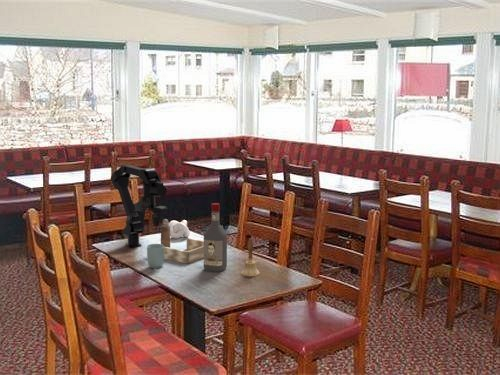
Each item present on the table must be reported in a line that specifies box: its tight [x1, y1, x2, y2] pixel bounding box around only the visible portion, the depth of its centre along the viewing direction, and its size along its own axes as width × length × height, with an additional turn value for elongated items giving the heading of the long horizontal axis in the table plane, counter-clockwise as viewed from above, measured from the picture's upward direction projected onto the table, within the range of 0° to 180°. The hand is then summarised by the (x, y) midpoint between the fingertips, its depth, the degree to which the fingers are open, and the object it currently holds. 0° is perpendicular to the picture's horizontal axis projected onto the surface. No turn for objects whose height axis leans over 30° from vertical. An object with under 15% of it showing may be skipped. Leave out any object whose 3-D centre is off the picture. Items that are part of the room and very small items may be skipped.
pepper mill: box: [160, 218, 171, 248], centre depth 303 cm, size 5×5×17 cm
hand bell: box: [240, 237, 261, 277], centre depth 272 cm, size 8×8×16 cm
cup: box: [146, 243, 165, 269], centre depth 279 cm, size 8×8×10 cm
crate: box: [164, 237, 204, 265], centre depth 296 cm, size 16×20×6 cm
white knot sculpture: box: [168, 219, 191, 240], centre depth 334 cm, size 11×12×9 cm
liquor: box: [203, 202, 228, 273], centre depth 276 cm, size 9×9×30 cm
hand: (149, 225), depth 304 cm, fingers open, 9 cm apart
